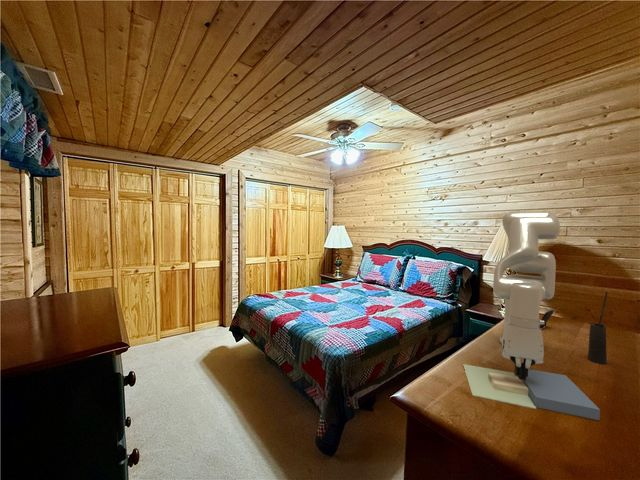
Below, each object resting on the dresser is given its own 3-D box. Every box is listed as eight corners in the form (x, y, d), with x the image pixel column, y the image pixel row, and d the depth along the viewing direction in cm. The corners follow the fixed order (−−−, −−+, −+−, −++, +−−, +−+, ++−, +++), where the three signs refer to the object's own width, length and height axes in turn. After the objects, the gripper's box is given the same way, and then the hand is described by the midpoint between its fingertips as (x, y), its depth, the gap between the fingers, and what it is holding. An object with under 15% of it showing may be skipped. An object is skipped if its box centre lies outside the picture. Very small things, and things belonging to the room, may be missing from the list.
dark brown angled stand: (526, 321, 148) (527, 304, 148) (553, 328, 138) (554, 309, 137) (518, 324, 143) (519, 306, 143) (546, 332, 133) (547, 312, 132)
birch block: (488, 377, 90) (488, 372, 90) (519, 382, 87) (519, 377, 87) (494, 389, 83) (494, 383, 83) (528, 395, 81) (528, 389, 80)
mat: (462, 364, 99) (462, 364, 99) (513, 373, 93) (513, 372, 93) (472, 395, 81) (472, 394, 81) (536, 409, 75) (536, 408, 75)
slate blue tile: (515, 375, 92) (515, 366, 92) (565, 384, 87) (565, 375, 87) (535, 407, 76) (536, 397, 75) (599, 420, 71) (600, 409, 70)
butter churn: (571, 356, 107) (574, 288, 106) (586, 353, 110) (589, 287, 109) (600, 367, 98) (604, 293, 97) (616, 363, 101) (620, 292, 100)
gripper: (547, 321, 84) (544, 376, 85) (493, 315, 90) (491, 367, 90) (558, 329, 77) (555, 389, 78) (499, 322, 83) (496, 378, 83)
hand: (521, 377), depth 84 cm, fingers closed
